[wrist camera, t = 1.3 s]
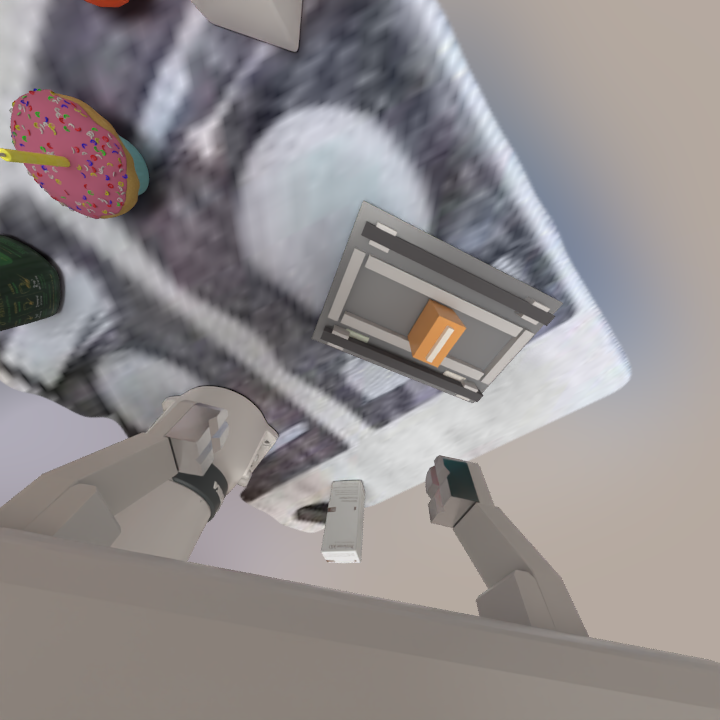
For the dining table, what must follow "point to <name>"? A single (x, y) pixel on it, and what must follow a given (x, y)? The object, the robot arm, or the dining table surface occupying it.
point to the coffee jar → (25, 285)
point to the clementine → (108, 3)
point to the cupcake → (75, 154)
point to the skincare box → (344, 523)
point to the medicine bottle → (257, 19)
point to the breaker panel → (411, 294)
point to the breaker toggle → (435, 333)
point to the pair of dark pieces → (450, 272)
